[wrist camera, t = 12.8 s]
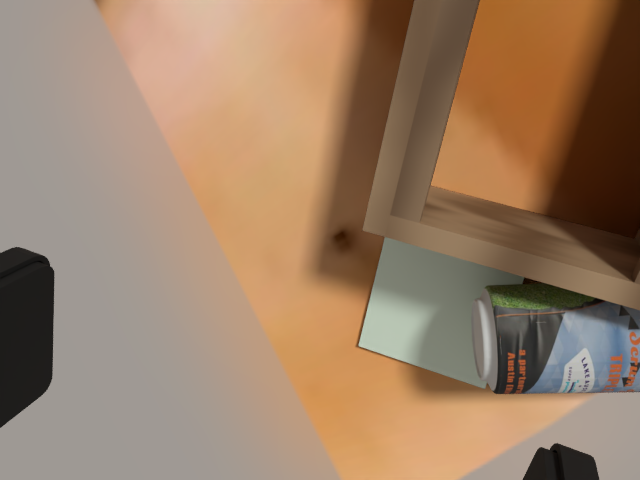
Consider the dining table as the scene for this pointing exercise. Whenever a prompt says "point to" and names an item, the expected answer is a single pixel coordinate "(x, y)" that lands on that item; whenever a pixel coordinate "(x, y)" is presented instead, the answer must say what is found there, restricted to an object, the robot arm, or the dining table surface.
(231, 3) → the dining table surface
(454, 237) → the box
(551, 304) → the beverage can
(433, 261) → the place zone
